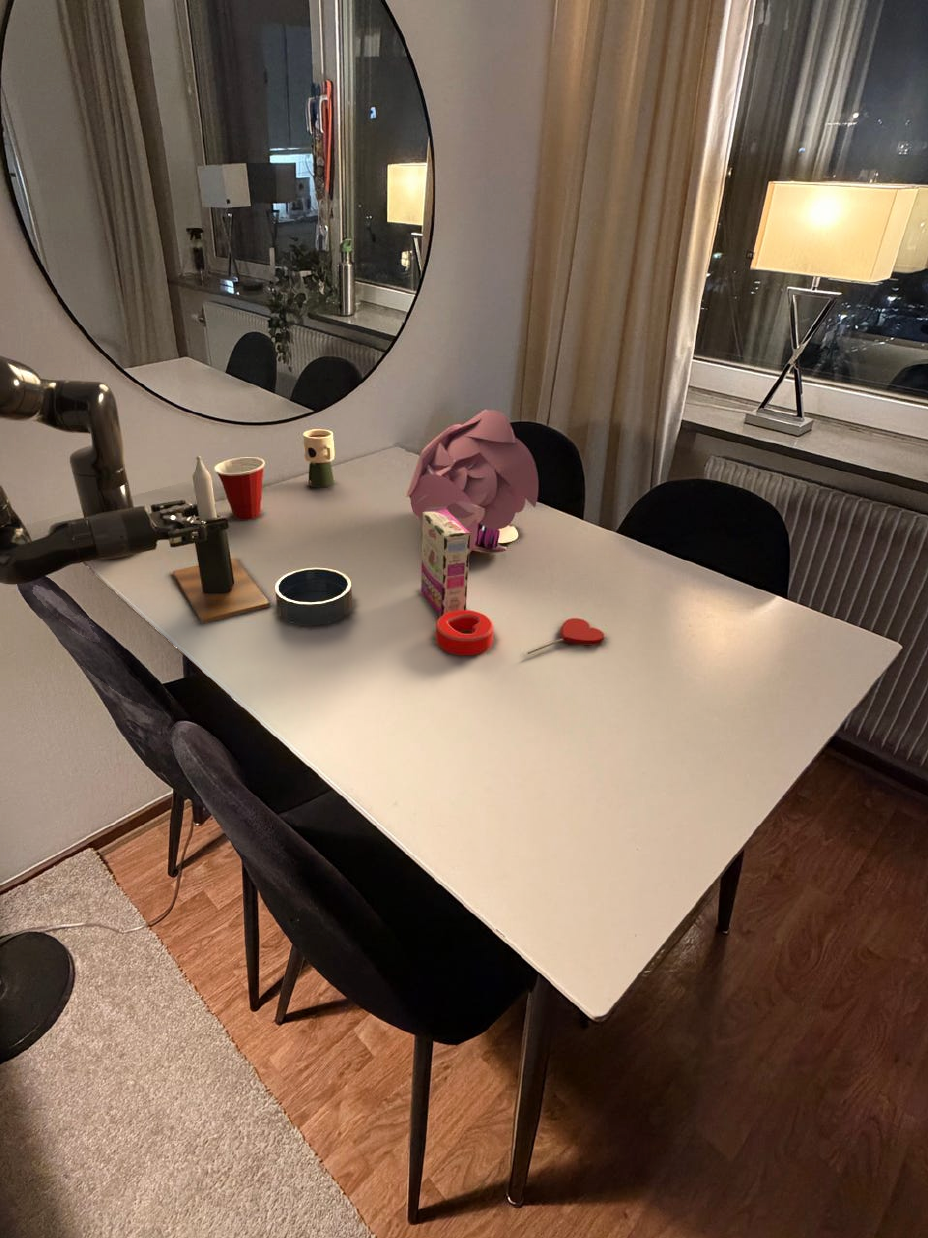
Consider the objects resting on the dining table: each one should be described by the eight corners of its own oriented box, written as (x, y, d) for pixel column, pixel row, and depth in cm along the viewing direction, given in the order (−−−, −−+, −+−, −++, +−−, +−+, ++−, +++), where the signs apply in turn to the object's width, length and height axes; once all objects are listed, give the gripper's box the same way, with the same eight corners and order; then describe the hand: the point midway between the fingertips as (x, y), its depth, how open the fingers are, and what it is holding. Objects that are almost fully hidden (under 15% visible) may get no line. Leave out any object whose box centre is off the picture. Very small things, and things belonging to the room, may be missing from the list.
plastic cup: (232, 503, 171) (225, 453, 164) (277, 507, 170) (272, 457, 163) (212, 522, 161) (204, 469, 155) (259, 526, 160) (253, 474, 154)
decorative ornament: (432, 626, 129) (432, 610, 127) (485, 622, 130) (486, 607, 129) (441, 657, 121) (441, 641, 119) (498, 652, 122) (499, 637, 121)
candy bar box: (467, 616, 132) (471, 532, 123) (441, 621, 130) (444, 536, 122) (444, 587, 141) (446, 507, 132) (419, 591, 139) (420, 511, 130)
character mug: (298, 480, 184) (293, 429, 177) (323, 475, 188) (320, 425, 181) (319, 495, 177) (315, 442, 170) (345, 489, 181) (342, 437, 174)
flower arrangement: (551, 568, 160) (594, 442, 147) (477, 582, 143) (518, 442, 130) (444, 503, 179) (474, 387, 166) (368, 509, 162) (395, 381, 150)
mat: (173, 574, 141) (172, 571, 140) (235, 561, 146) (234, 557, 146) (202, 623, 127) (201, 619, 126) (269, 606, 132) (269, 602, 132)
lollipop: (543, 667, 119) (609, 640, 127) (544, 662, 119) (610, 635, 126) (512, 644, 125) (577, 619, 132) (512, 639, 124) (577, 614, 132)
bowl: (267, 599, 134) (264, 577, 132) (334, 582, 140) (332, 561, 138) (293, 633, 125) (291, 611, 123) (364, 614, 131) (363, 592, 129)
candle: (207, 580, 138) (186, 450, 125) (235, 580, 138) (217, 451, 125) (201, 593, 133) (179, 460, 120) (230, 593, 134) (211, 461, 121)
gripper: (125, 528, 115) (231, 509, 123) (108, 496, 125) (206, 480, 133) (135, 570, 119) (236, 549, 127) (117, 536, 129) (212, 519, 137)
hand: (221, 514), depth 130 cm, fingers open, 7 cm apart
